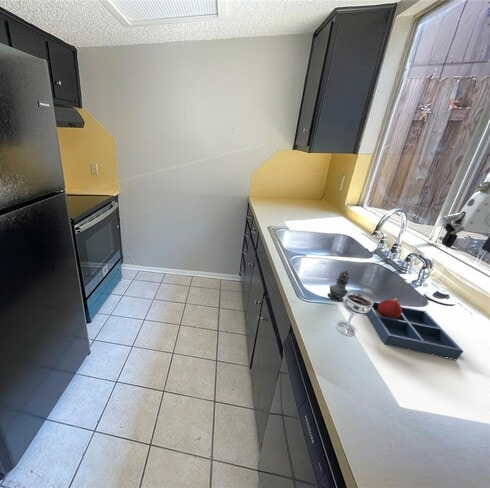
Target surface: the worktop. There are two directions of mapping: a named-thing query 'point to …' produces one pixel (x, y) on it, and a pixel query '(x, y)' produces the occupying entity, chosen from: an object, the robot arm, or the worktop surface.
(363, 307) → the wineglass
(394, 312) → the onion
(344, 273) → the dark grey statuette
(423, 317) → the grid
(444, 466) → the worktop surface
